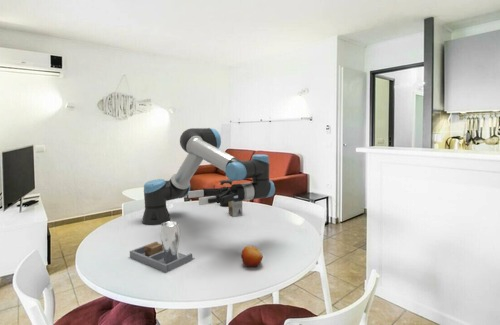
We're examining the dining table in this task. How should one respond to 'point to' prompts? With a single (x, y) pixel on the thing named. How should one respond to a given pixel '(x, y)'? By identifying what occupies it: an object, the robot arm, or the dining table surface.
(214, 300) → the dining table surface
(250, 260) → the fruit
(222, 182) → the french press
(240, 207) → the coffee box
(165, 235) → the beer glass
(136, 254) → the tray
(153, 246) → the walnut block
